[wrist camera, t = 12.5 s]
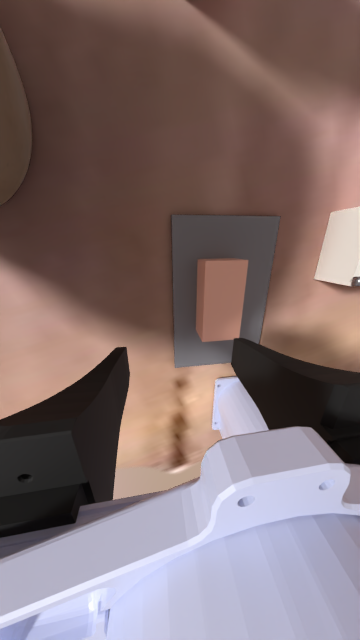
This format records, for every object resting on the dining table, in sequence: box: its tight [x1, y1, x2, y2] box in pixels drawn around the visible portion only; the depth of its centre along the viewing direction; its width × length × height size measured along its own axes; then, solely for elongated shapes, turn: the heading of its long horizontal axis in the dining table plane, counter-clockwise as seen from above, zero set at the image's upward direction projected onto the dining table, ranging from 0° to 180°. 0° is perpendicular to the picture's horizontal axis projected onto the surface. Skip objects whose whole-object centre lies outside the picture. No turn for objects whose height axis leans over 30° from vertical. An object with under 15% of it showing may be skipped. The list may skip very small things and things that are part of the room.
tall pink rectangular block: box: [196, 258, 248, 342], centre depth 19 cm, size 8×4×3 cm, turn 1°
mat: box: [171, 215, 281, 368], centre depth 21 cm, size 17×11×1 cm, turn 0°
